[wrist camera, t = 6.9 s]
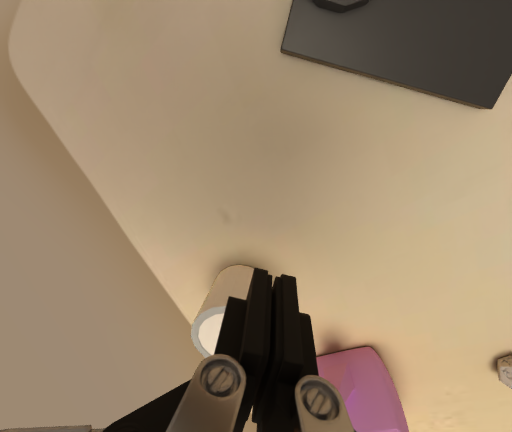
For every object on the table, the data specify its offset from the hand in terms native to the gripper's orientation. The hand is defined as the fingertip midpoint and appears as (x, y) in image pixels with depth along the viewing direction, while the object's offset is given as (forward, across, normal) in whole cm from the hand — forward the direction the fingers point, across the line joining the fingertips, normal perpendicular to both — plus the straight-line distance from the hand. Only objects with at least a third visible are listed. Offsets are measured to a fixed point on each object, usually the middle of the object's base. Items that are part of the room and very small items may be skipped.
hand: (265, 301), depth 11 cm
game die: (+15, -30, +13) cm, 37 cm away
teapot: (+15, -14, +22) cm, 30 cm away
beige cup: (+15, +1, +11) cm, 19 cm away
